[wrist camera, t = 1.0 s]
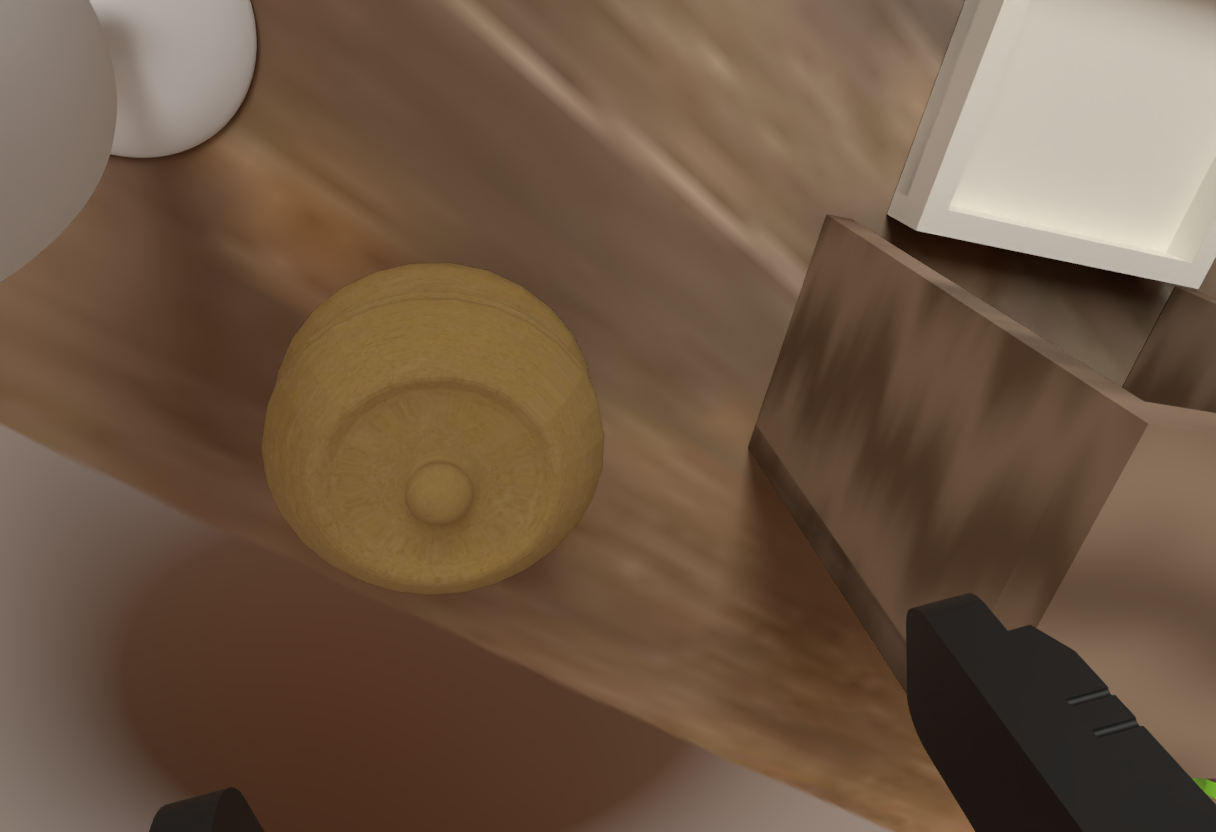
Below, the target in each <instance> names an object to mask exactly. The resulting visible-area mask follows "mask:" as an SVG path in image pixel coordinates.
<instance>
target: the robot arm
mask: <svg viewBox="0 0 1216 832" xmlns="http://www.w3.org/2000/svg"><path fill="white" fill-rule="evenodd" d="M906 656H907V699H908V705H909V710H910V714H911V717H912V721H913V724H914V726H915V729H916V732H917V734H918V736H919V738H920V741H921V743H922V745H923V746H924V748H925V750H926V752H927V753H928V755H929V757H930V758H931V760H932V762H933V763H934V765H935V766H936V768H937V770H938V771H939V773H940V775H941V776H942V778H943V779H944V781H945V783H946V784H947V786H948V788H949V789H950V791H951V793H952V794H953V796H954V797H955V799H956V801H957V802H958V804H959V806H960V807H961V809H962V810H963V812H964V814H965V815H966V817H967V819H968V820H969V822H970V823H971V825H972V827H973V828H974V830H975V832H1216V804H1215V803H1214V802H1213V801H1212V800H1211V799H1210V798H1209V797H1208V796H1207V795H1206V794H1205V792H1204V791H1203V790H1202V789H1201V788H1200V787H1199V786H1198V785H1197V784H1196V783H1195V781H1194V780H1193V779H1192V778H1191V777H1190V776H1189V775H1188V774H1187V773H1186V772H1185V771H1184V769H1183V768H1182V767H1181V766H1180V765H1179V764H1178V763H1177V762H1176V761H1175V760H1174V758H1173V757H1172V756H1171V755H1170V754H1169V753H1168V752H1167V751H1166V750H1165V749H1164V748H1163V746H1162V745H1161V744H1160V743H1159V742H1158V741H1157V740H1156V739H1155V738H1154V737H1153V736H1152V734H1151V733H1150V732H1149V731H1148V730H1147V729H1146V728H1145V727H1144V726H1140V725H1139V724H1138V723H1137V720H1136V717H1135V716H1134V715H1133V714H1132V713H1131V711H1130V710H1129V709H1128V708H1127V707H1126V706H1125V705H1124V704H1123V703H1122V702H1121V700H1120V699H1119V698H1118V697H1117V696H1116V695H1111V693H1110V692H1109V689H1108V686H1107V685H1106V684H1105V683H1104V682H1103V681H1102V680H1101V679H1100V678H1099V676H1098V675H1097V674H1096V673H1095V672H1094V671H1093V670H1092V669H1091V668H1090V667H1089V665H1088V664H1087V663H1086V662H1085V661H1084V660H1083V659H1082V658H1081V657H1080V656H1079V655H1078V653H1077V652H1076V651H1074V650H1073V649H1071V648H1069V647H1068V646H1066V645H1064V644H1062V643H1061V642H1059V641H1057V640H1056V639H1054V638H1052V637H1051V636H1049V635H1047V634H1045V633H1044V632H1042V631H1040V630H1039V629H1037V628H1035V627H1034V626H1032V625H1027V626H1023V627H1020V628H1016V629H1012V630H1009V631H1008V630H1007V629H1006V628H1005V627H1004V626H1003V624H1002V623H1001V622H1000V621H999V620H998V618H997V617H996V616H995V615H994V614H993V613H992V611H991V610H990V609H989V608H988V607H987V605H986V604H985V603H984V602H983V601H982V600H981V599H980V598H979V597H978V596H976V595H974V594H972V593H966V594H962V595H959V596H955V597H951V598H947V599H944V600H940V601H936V602H932V603H929V604H925V605H921V606H917V607H914V608H910V609H909V610H908V612H907V616H906ZM149 832H264V830H263V828H262V827H261V825H260V823H259V822H258V820H257V818H256V817H255V815H254V813H253V811H252V810H251V808H250V806H249V805H248V803H247V802H246V800H245V798H244V796H243V795H242V794H241V792H240V791H239V790H237V789H236V788H232V787H230V788H226V789H223V790H219V791H215V792H211V793H208V794H204V795H200V796H197V797H193V798H189V799H185V800H182V801H178V802H174V803H170V804H167V805H164V806H163V807H161V809H159V811H158V812H157V814H156V815H155V817H154V819H153V822H152V825H151V828H150V831H149Z"/></svg>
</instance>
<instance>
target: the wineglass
mask: <svg viewBox="0 0 1216 832" xmlns="http://www.w3.org/2000/svg"><path fill="white" fill-rule="evenodd" d="M256 52H257V36H256V25H255V18H254V13H253V9H252V5H251V1H250V0H0V282H1V281H3V280H4V279H6V278H8V277H9V276H11V275H12V274H13V273H15V272H16V271H17V270H19V269H20V268H22V267H23V266H24V265H26V264H27V263H28V262H30V261H31V260H32V259H33V258H35V257H36V256H37V255H38V254H39V253H41V252H42V251H43V250H44V249H45V248H46V247H47V246H49V245H50V244H51V243H52V242H53V241H54V240H55V239H56V238H57V237H58V236H59V235H60V234H61V233H62V232H63V231H64V230H65V229H66V228H67V227H68V226H69V225H70V224H71V222H72V221H73V220H74V219H75V217H76V216H77V215H78V214H79V213H80V211H81V210H82V209H83V207H84V206H85V205H86V203H87V202H88V200H89V199H90V197H91V196H92V194H93V192H94V190H95V188H96V187H97V185H98V183H99V181H100V179H101V177H102V175H103V173H104V170H105V168H106V165H107V162H108V159H109V156H110V154H111V155H117V156H123V157H133V158H150V157H161V156H167V155H172V154H176V153H179V152H182V151H185V150H188V149H190V148H193V147H195V146H197V145H199V144H201V143H203V142H204V141H206V140H208V139H209V138H211V137H212V136H213V135H215V134H216V133H217V132H218V131H220V130H221V129H222V128H223V127H224V126H225V125H226V124H227V123H228V122H229V121H230V119H231V118H232V117H233V116H234V114H235V113H236V112H237V110H238V109H239V107H240V105H241V104H242V102H243V100H244V98H245V96H246V94H247V92H248V89H249V86H250V84H251V80H252V77H253V73H254V68H255V62H256Z"/></svg>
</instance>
